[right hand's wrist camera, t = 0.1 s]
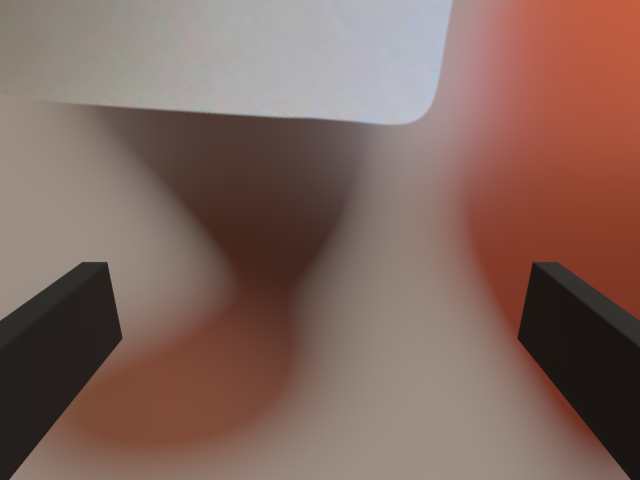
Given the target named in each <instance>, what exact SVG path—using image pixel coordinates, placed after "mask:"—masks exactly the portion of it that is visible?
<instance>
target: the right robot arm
mask: <svg viewBox="0 0 640 480" xmlns="http://www.w3.org/2000/svg"><path fill="white" fill-rule="evenodd" d="M121 340H122V333H121V329H120V324H119V319H118V314H117V309H116V304H115V299H114V294H113V289H112V284H111V279H110V274H109V269H108V264H107V262H82V263H81V264H79V265H78V266H76V267H75V268H74V269H72V270H71V271H69V272H68V273H67V274H65V275H64V276H62V277H61V278H60V279H58V280H57V281H55V282H54V283H53V284H51V285H50V286H49V287H47V288H46V289H44V290H43V291H41V292H40V293H39V294H37V295H36V296H34V297H33V298H32V299H30V300H29V301H27V302H26V303H25V304H23V305H22V306H20V307H19V308H18V309H16V310H15V311H13V312H12V313H11V314H9V315H8V316H7V317H5V318H4V319H2V320H1V321H0V480H9V479H10V478H11V477H12V475H13V474H14V473H15V472H16V470H17V469H18V468H19V467H20V465H21V464H22V463H23V462H24V461H25V459H26V458H27V457H28V456H29V454H30V453H31V452H32V451H33V449H34V448H35V447H36V446H37V444H38V443H39V442H40V441H41V439H42V438H43V437H44V436H45V434H46V433H47V432H48V431H49V429H50V428H51V427H52V426H53V424H54V423H55V422H56V421H57V419H58V418H59V417H60V416H61V414H62V413H63V412H64V411H65V409H66V408H67V407H68V406H69V404H70V403H71V402H72V401H73V400H74V398H75V397H76V396H77V395H78V393H79V392H80V391H81V390H82V388H83V387H84V386H85V385H86V383H87V382H88V381H89V380H90V378H91V377H92V376H93V375H94V373H95V372H96V371H97V370H98V368H99V367H100V366H101V365H102V363H103V362H104V361H105V360H106V358H107V357H108V356H109V355H110V353H111V352H112V351H113V350H114V348H115V347H116V346H117V345H118V343H119V342H120V341H121ZM518 340H519V341H520V342H521V343H522V345H523V346H524V347H525V348H526V350H527V351H528V352H529V353H530V355H531V356H532V357H533V358H534V360H535V361H536V362H537V363H538V365H539V366H540V367H541V368H542V370H543V371H544V372H545V373H546V375H547V376H548V377H549V378H550V380H551V381H552V382H553V383H554V385H555V386H556V387H557V388H558V390H559V391H560V392H561V393H562V395H563V396H564V397H565V398H566V400H567V401H568V402H569V403H570V404H571V406H572V407H573V408H574V409H575V411H576V412H577V413H578V414H579V416H580V417H581V418H582V419H583V421H584V422H585V423H586V424H587V426H588V427H589V428H590V429H591V431H592V432H593V433H594V434H595V436H596V437H597V438H598V439H599V441H600V442H601V443H602V444H603V446H604V447H605V448H606V449H607V450H608V452H609V453H610V454H611V456H612V457H613V458H614V459H615V460H616V462H617V463H618V464H619V465H620V467H621V468H622V469H623V470H624V472H625V473H626V474H627V475H628V477H629V478H630V479H631V480H640V321H639V320H638V319H636V318H635V317H634V316H632V315H631V314H629V313H628V312H626V311H625V310H624V309H622V308H621V307H620V306H618V305H617V304H615V303H614V302H612V301H611V300H610V299H608V298H607V297H606V296H604V295H603V294H601V293H600V292H599V291H597V290H596V289H594V288H593V287H592V286H590V285H589V284H587V283H586V282H585V281H583V280H582V279H580V278H579V277H578V276H576V275H575V274H573V273H572V272H571V271H569V270H568V269H566V268H565V267H564V266H562V265H561V264H559V263H558V262H533V264H532V269H531V274H530V279H529V284H528V289H527V294H526V299H525V304H524V309H523V314H522V319H521V323H520V329H519V333H518Z"/></svg>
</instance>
